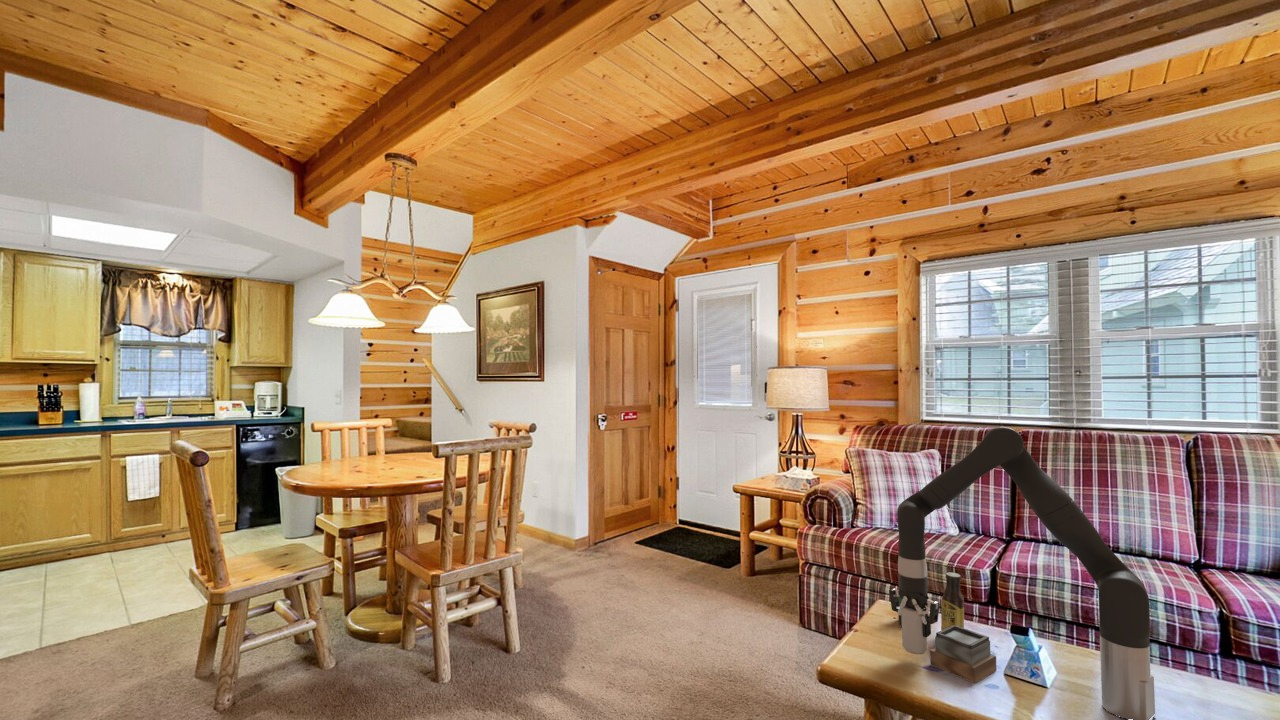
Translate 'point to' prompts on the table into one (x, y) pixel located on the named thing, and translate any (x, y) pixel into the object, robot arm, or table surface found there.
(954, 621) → the sauce bottle
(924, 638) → the beverage can
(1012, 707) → the table surface
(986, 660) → the tower base
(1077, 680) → the table surface
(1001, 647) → the table surface
